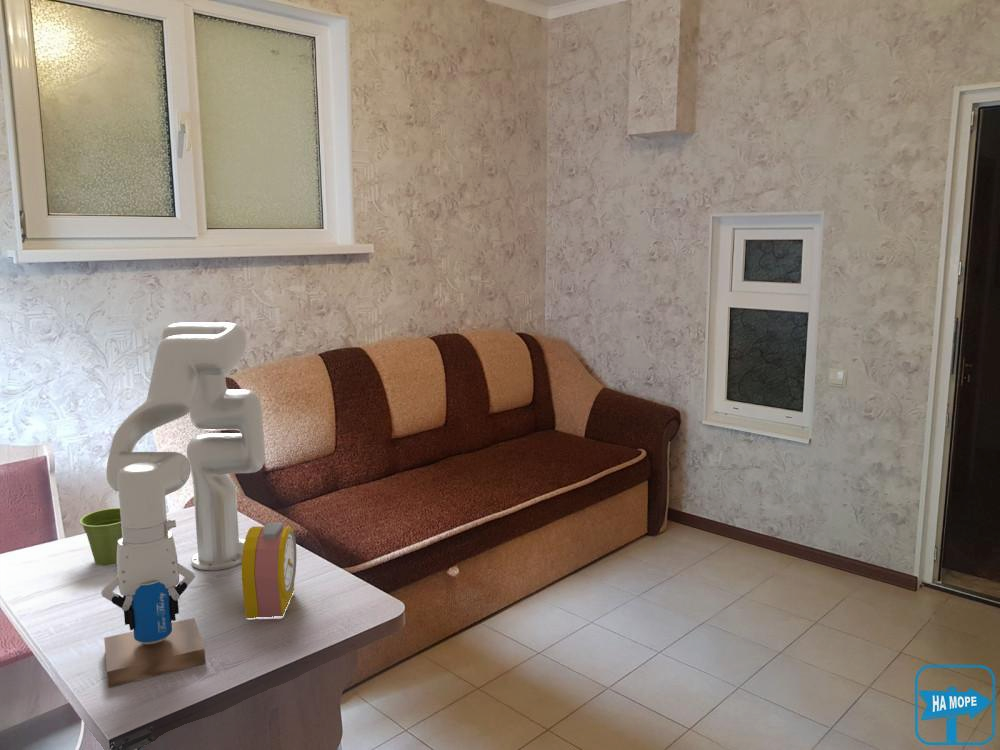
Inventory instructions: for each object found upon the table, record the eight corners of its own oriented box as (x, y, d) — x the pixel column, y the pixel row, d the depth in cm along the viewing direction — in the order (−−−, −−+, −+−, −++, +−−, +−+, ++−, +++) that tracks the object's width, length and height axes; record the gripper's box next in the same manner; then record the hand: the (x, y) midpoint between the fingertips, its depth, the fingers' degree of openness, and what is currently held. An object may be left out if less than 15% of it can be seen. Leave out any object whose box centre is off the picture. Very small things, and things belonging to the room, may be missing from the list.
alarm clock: (285, 623, 155) (281, 538, 152) (244, 624, 155) (239, 539, 151) (298, 590, 170) (295, 512, 167) (261, 590, 169) (257, 512, 166)
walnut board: (195, 631, 152) (194, 617, 151) (205, 663, 140) (204, 648, 140) (105, 652, 144) (104, 637, 143) (108, 687, 133) (107, 671, 132)
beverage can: (148, 650, 137) (143, 588, 135) (127, 639, 141) (121, 579, 138) (179, 634, 143) (175, 574, 140) (158, 624, 146) (153, 566, 144)
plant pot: (77, 559, 185) (73, 515, 183) (129, 546, 193) (126, 504, 191) (91, 575, 176) (87, 529, 174) (145, 561, 184) (141, 517, 182)
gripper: (193, 516, 145) (199, 603, 149) (90, 532, 137) (99, 624, 140) (198, 529, 139) (204, 620, 142) (91, 547, 130) (100, 643, 134)
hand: (152, 621), depth 141 cm, fingers closed on beverage can, 6 cm apart
